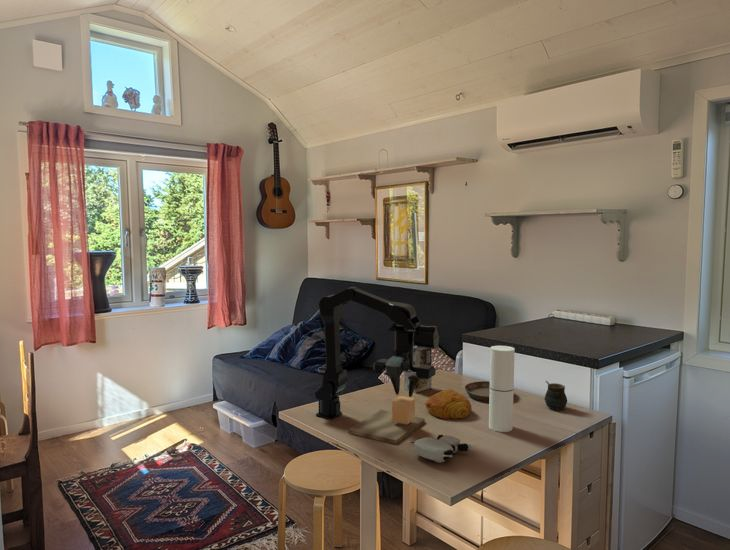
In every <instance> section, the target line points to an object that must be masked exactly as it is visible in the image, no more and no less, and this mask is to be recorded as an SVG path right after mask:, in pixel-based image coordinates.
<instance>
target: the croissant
mask: <svg viewBox="0 0 730 550" xmlns="http://www.w3.org/2000/svg"><path fill="white" fill-rule="evenodd" d="M424 405H425V408H426V410H427V411H428V413H429V414H431V415H432V416H434V417H437V418H441V419H443V420H445V419H447V420H450V419H454V420H455V419H465V418H468V417H469V416H470V414H471V412H472V403H471V402H470V400H469V399H468V398H467V397H466V396H465V395H464V394H462V393H460V392H458V391H455V390H453V389H448V390H447V389H444V390H442V391H440V392H437V393H435V394H432V395H431V396H430V397H429V398H428V399H427V400H426V401H425V403H424Z"/></svg>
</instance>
